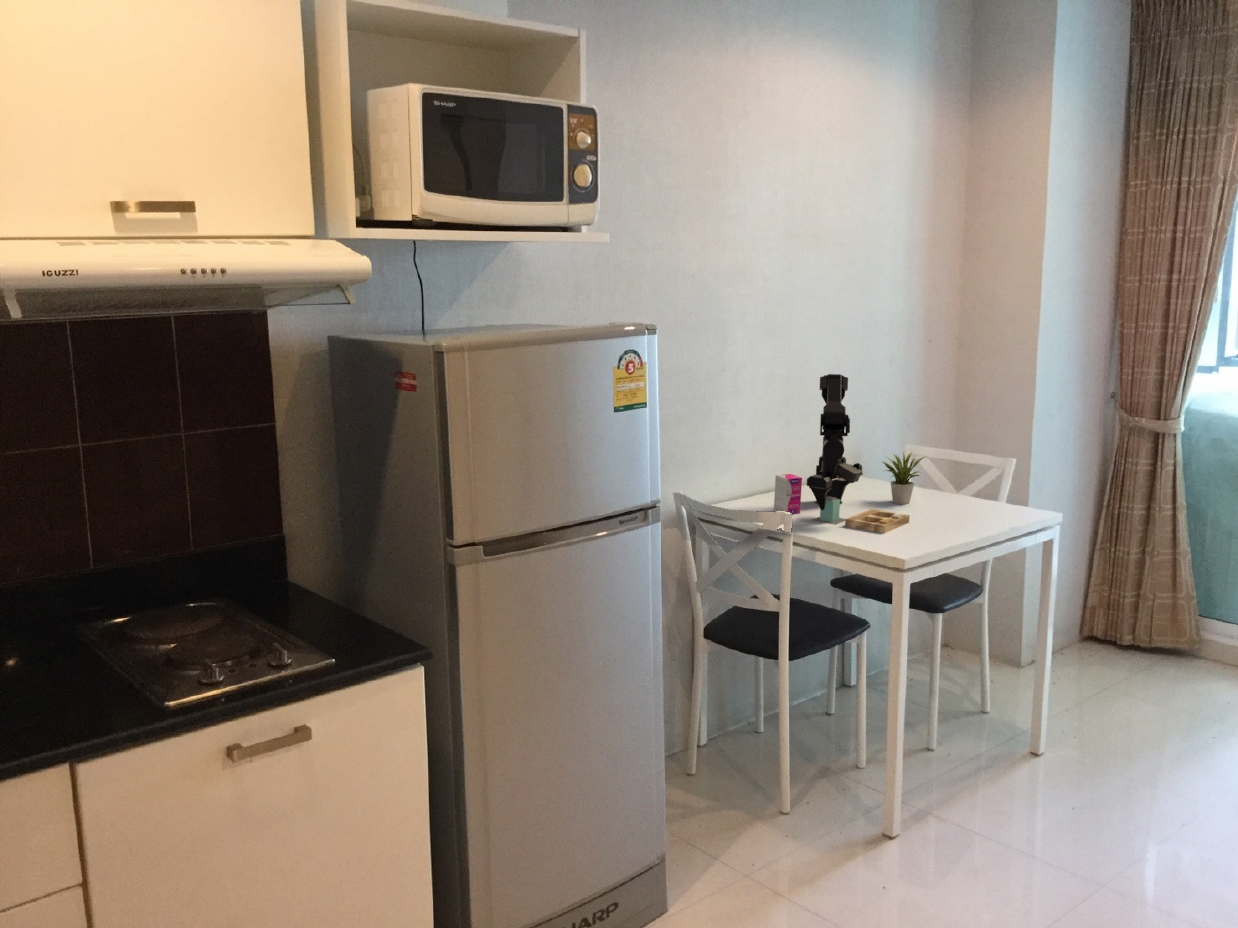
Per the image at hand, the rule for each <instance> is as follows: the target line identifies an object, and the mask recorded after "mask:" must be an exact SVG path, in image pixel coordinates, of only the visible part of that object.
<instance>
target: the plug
mask: <svg viewBox="0 0 1238 928" xmlns="http://www.w3.org/2000/svg"><path fill="white" fill-rule="evenodd" d="M840 506H841V504H840V499H836V497H831V496H828V497H827V498H826V504H825V509H824V510H821V509H820V508H819V509H820V510H819V511H820V512H819V513H820V514H819V517H820V520H823V521H829V522H834V521H837V520H839V518H840V509H841V508H840Z"/></svg>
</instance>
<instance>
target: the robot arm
mask: <svg viewBox="0 0 1238 928" xmlns="http://www.w3.org/2000/svg"><path fill="white" fill-rule="evenodd" d="M848 390H849V377H847V376H844V375H843V374H838V373H829V374H825V375H822V376H820V377H819V391H821V397H822V399H823V401H824V403H825V405H824V406H823V409H822V410H823V411H822V413H820V418H819V419H820V423H819V424H820V425H819V435H820V436H823V437H822V454H821V456H819V458H818V464H816V468H815V474H812V475H810V476H808V477H807V478H806V486H807V487H808V488H809V489H810V490H811V492H812V494H813V496H814V497H815V500H816V501H814V502H813V503H815V504H817V505H818V506H819V509H821V510H824V509H825V504H826V498H827V497H828V496H831V497H836V499H840V505H841V504H842V503H843V501H842V498H843V497H844V493H845V490H846V488H847V486H848V485H850V484H854V483H856V482H859V480H860V477H861V476H863V475H864V473H863V465H862V464H861V463H859V462H856V463H854V464H849V463H847V458H846V456H844V452H845V447H844V437H848V436H849V435H848V434H850V432H851V418H850V417H849V414H847V413H846V406H845V405H843V404H842V401H844V398H845V396H846V392H848Z"/></svg>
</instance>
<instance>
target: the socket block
mask: <svg viewBox="0 0 1238 928" xmlns="http://www.w3.org/2000/svg"><path fill="white" fill-rule="evenodd" d="M910 516H911V515H909V514H904V513H898V512H891V511H884V510H879V509H873V508H870V509H868V510H864V511H862V512H860V513H858V514H855V515H852V516H849V517H847V518H844V519H845V521H844V527H846V528H852V529H858V530H863V531H867V532H875V533H881V534H887V533H889V532H890V531H891V532H892V531H893V530H896V529H898V528H900V527H902V526H904V525H907V524H910Z"/></svg>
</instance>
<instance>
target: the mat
mask: <svg viewBox="0 0 1238 928" xmlns="http://www.w3.org/2000/svg"><path fill="white" fill-rule="evenodd" d="M845 519H846V518H842V517H839V520H837V521H834V522H829V521H823V520H820V516H818V517H815V518H813V519H811V521H813V522H817V523H818V522H819V523H824V524H829V525H834V526H835V525H837V524H841V523H845Z"/></svg>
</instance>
